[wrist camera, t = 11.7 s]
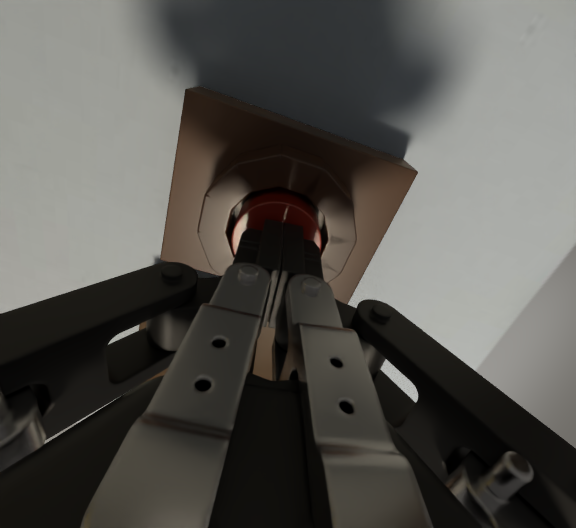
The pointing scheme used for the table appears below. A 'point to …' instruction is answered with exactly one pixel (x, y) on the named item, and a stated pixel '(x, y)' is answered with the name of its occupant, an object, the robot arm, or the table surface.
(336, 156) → the block
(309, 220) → the button
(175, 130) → the table surface
